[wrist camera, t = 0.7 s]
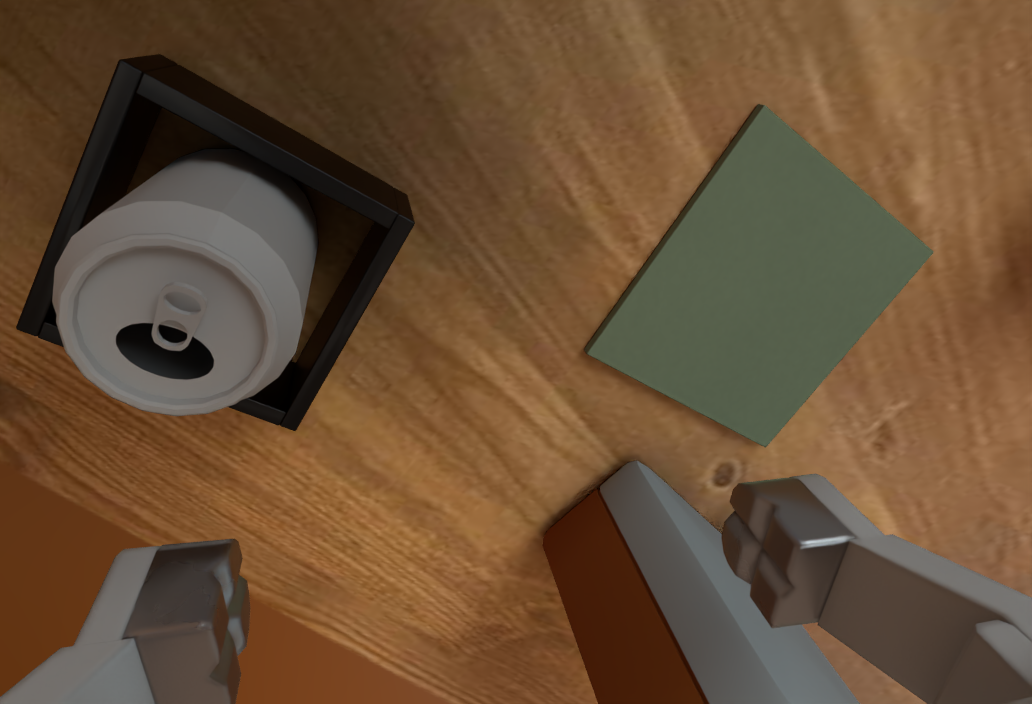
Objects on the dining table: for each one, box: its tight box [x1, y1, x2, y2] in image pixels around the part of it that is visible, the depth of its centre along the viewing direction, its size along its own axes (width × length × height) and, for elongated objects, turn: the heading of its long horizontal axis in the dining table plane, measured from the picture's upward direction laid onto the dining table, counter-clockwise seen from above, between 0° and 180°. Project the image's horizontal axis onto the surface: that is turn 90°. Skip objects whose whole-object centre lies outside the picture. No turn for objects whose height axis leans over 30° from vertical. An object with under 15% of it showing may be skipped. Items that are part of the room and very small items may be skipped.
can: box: [52, 149, 319, 416], centre depth 24 cm, size 8×8×12 cm
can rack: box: [16, 54, 415, 431], centre depth 28 cm, size 12×12×5 cm
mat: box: [584, 104, 933, 447], centre depth 38 cm, size 16×16×1 cm
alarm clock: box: [543, 461, 860, 704], centre depth 37 cm, size 18×9×21 cm, turn 42°
